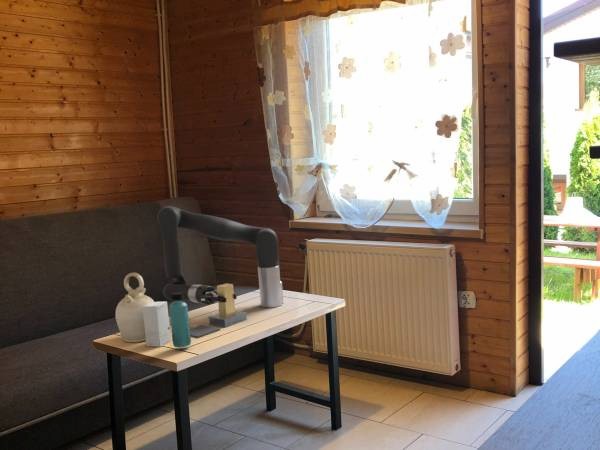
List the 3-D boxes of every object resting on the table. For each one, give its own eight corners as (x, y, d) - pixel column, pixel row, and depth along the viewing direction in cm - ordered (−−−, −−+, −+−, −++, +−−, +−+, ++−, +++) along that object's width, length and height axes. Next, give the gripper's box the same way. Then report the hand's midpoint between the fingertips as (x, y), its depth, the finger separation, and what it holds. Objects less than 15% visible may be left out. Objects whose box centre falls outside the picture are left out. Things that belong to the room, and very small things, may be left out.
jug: (138, 330, 254) (132, 267, 251) (168, 333, 246) (162, 269, 243) (109, 341, 241) (102, 276, 238) (139, 345, 233) (132, 277, 230)
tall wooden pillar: (228, 312, 259) (226, 283, 258) (235, 313, 257) (233, 284, 255) (219, 315, 256) (216, 286, 254) (226, 316, 253) (223, 286, 252)
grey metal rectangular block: (230, 317, 264) (230, 309, 264) (246, 319, 258) (246, 312, 258) (209, 324, 255) (208, 317, 255) (225, 327, 249) (224, 319, 249)
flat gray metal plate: (200, 326, 253) (200, 325, 253) (220, 330, 246) (220, 328, 246) (179, 334, 245) (178, 332, 245) (198, 337, 238) (198, 336, 238)
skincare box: (160, 347, 229) (156, 306, 228) (145, 346, 231) (141, 306, 229) (171, 340, 237) (168, 300, 236) (157, 339, 239) (153, 300, 237)
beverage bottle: (195, 347, 226) (190, 291, 224) (180, 352, 221) (174, 295, 219) (184, 344, 231) (179, 289, 228) (169, 349, 226) (163, 293, 223)
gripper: (187, 288, 259) (216, 292, 248) (213, 281, 270) (242, 284, 259) (189, 307, 260) (218, 311, 249) (215, 299, 271) (244, 303, 260)
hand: (230, 298), depth 254 cm, fingers closed on tall wooden pillar, 5 cm apart
